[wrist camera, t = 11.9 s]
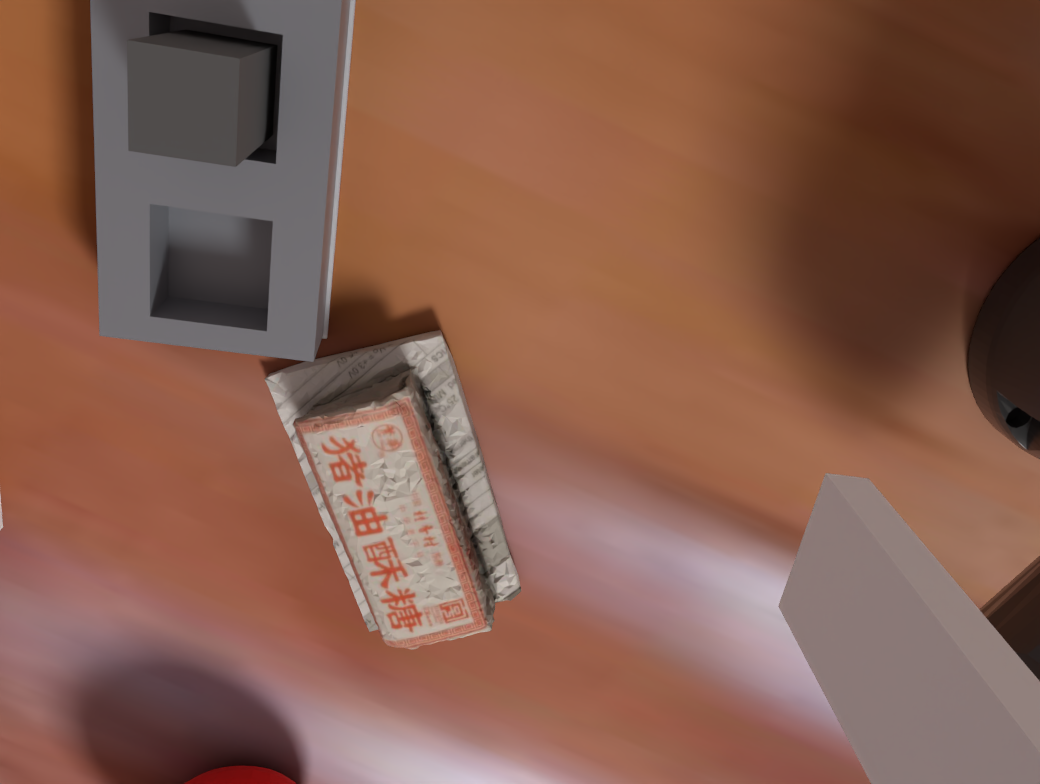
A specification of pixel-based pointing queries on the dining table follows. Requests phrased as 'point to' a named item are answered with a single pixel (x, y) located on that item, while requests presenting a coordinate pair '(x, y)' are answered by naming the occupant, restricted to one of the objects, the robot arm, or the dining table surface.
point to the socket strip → (224, 189)
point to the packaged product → (401, 486)
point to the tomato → (241, 776)
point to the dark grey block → (200, 96)
